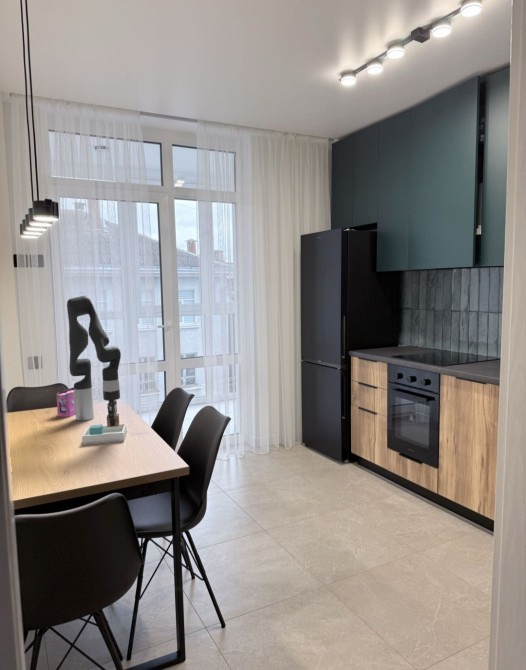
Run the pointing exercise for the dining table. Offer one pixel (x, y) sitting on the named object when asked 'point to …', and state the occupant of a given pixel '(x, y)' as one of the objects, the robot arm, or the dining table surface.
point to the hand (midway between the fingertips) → (113, 424)
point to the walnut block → (115, 420)
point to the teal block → (96, 429)
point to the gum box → (66, 403)
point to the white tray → (105, 435)
